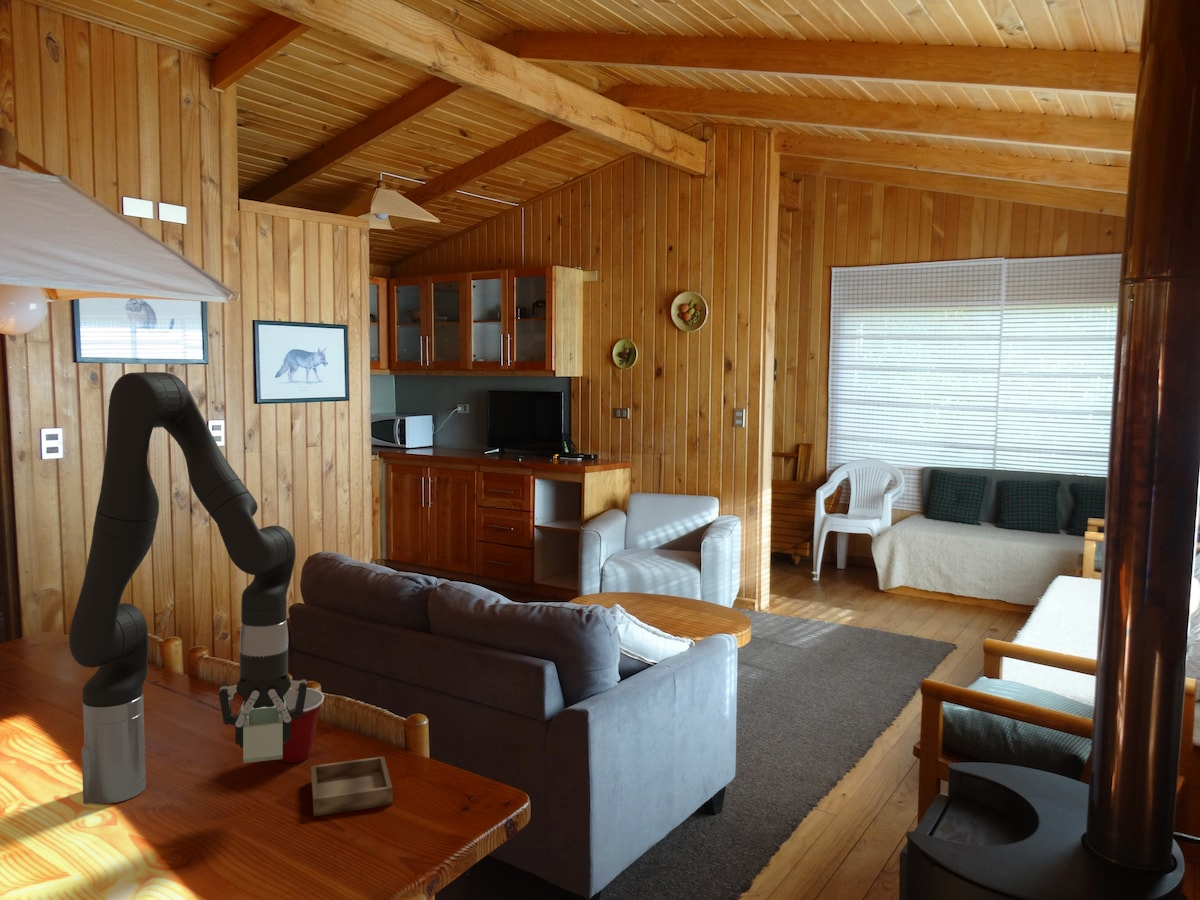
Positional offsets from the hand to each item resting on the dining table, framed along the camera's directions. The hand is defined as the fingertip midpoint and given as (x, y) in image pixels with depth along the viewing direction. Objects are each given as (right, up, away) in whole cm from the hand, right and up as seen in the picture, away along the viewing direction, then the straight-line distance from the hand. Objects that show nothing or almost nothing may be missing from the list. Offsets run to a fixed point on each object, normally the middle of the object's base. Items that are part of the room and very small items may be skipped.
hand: (263, 743), depth 146 cm
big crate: (+12, -12, +9) cm, 19 cm away
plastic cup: (-2, -10, +22) cm, 25 cm away
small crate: (0, -1, 0) cm, 1 cm away
